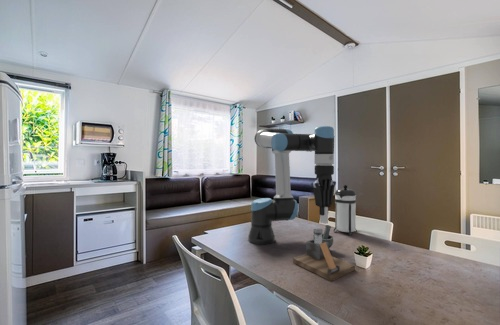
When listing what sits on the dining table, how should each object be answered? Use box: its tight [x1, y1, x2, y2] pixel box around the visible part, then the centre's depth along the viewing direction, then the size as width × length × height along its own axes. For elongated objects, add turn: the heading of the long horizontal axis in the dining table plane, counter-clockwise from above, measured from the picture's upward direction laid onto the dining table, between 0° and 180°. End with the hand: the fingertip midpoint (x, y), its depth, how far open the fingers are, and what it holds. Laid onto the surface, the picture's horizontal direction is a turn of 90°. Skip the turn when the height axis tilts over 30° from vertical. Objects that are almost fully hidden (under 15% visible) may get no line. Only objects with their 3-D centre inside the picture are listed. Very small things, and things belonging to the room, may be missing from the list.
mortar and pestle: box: [312, 224, 334, 250], centre depth 123 cm, size 11×9×12 cm
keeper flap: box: [320, 242, 338, 273], centre depth 96 cm, size 11×4×1 cm
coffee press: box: [333, 184, 358, 236], centre depth 154 cm, size 17×16×30 cm
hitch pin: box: [313, 228, 324, 245], centre depth 110 cm, size 4×4×14 cm
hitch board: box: [292, 239, 356, 282], centre depth 104 cm, size 20×16×8 cm
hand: (323, 222), depth 98 cm, fingers closed
